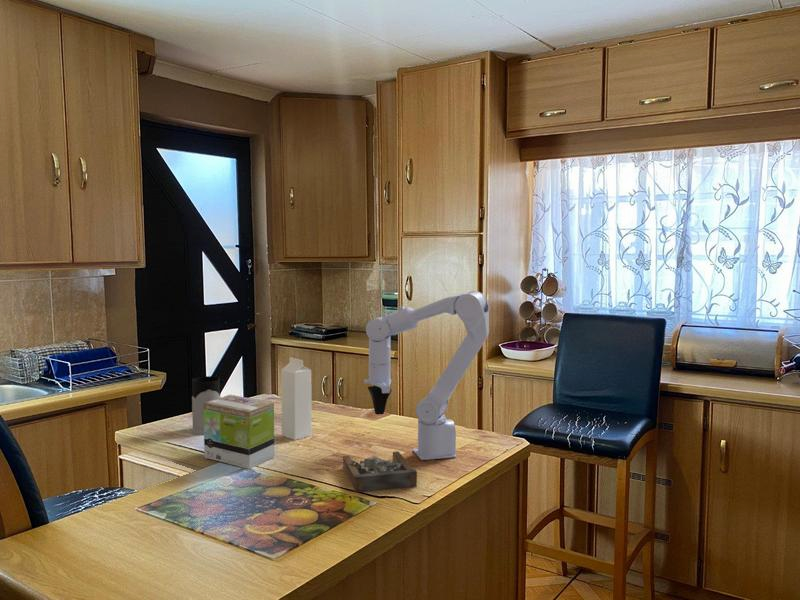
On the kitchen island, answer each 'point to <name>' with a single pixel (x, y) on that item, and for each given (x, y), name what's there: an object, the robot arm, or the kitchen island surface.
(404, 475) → the dock
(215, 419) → the tea box
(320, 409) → the kitchen island surface
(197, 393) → the glass holder
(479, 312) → the robot arm
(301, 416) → the milk
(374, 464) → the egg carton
